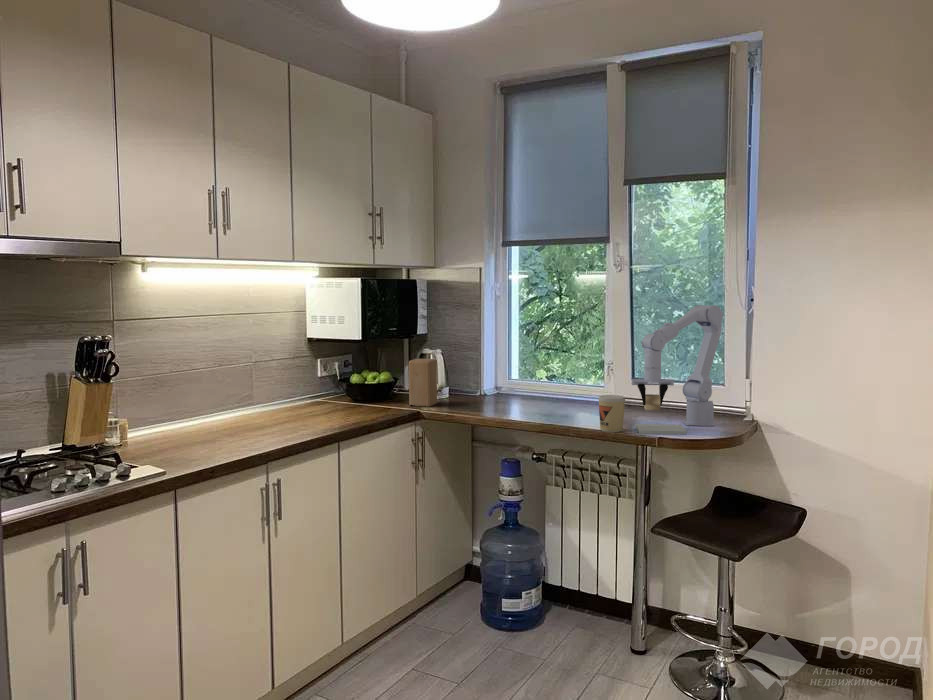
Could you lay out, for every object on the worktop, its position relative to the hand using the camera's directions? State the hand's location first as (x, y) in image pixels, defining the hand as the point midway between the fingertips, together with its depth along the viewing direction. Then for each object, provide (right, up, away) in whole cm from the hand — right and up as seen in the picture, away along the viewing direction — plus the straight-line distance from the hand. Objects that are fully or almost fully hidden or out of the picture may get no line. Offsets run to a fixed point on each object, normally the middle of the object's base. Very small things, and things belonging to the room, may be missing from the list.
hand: (652, 405), depth 258 cm
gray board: (+2, -9, -4) cm, 10 cm away
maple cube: (0, -2, 0) cm, 2 cm away
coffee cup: (-15, -9, -2) cm, 18 cm away
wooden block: (-86, -5, +56) cm, 102 cm away
